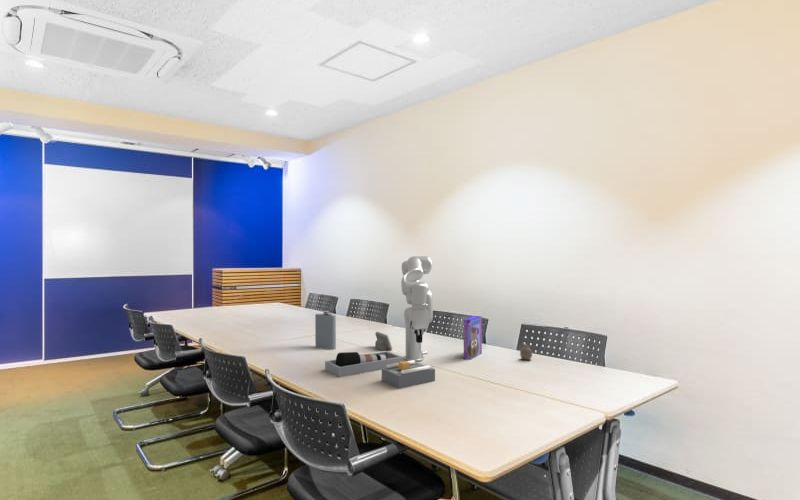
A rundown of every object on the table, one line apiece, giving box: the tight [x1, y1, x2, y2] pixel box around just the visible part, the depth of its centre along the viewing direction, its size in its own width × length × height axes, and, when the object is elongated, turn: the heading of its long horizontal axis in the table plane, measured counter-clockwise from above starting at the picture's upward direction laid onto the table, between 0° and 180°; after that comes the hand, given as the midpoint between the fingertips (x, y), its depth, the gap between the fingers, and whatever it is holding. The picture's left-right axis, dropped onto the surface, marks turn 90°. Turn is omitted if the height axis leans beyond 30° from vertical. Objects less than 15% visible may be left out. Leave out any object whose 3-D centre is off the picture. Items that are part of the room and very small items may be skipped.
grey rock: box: [374, 331, 393, 352], centre depth 301 cm, size 16×9×11 cm, turn 18°
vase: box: [519, 344, 533, 361], centre depth 270 cm, size 7×7×9 cm
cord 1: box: [386, 360, 416, 369], centre depth 234 cm, size 18×2×2 cm, turn 124°
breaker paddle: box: [399, 360, 410, 370], centre depth 227 cm, size 4×4×4 cm
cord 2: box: [401, 364, 432, 375], centre depth 223 cm, size 18×2×2 cm, turn 124°
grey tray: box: [324, 350, 404, 378], centre depth 253 cm, size 41×17×5 cm, turn 124°
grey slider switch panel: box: [381, 362, 436, 389], centre depth 229 cm, size 22×16×6 cm
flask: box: [314, 310, 337, 351], centre depth 305 cm, size 17×5×25 cm, turn 55°
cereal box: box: [463, 315, 483, 360], centre depth 280 cm, size 17×5×24 cm, turn 148°
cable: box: [335, 351, 390, 367], centre depth 254 cm, size 10×34×10 cm, turn 122°
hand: (419, 342), depth 233 cm, fingers closed
